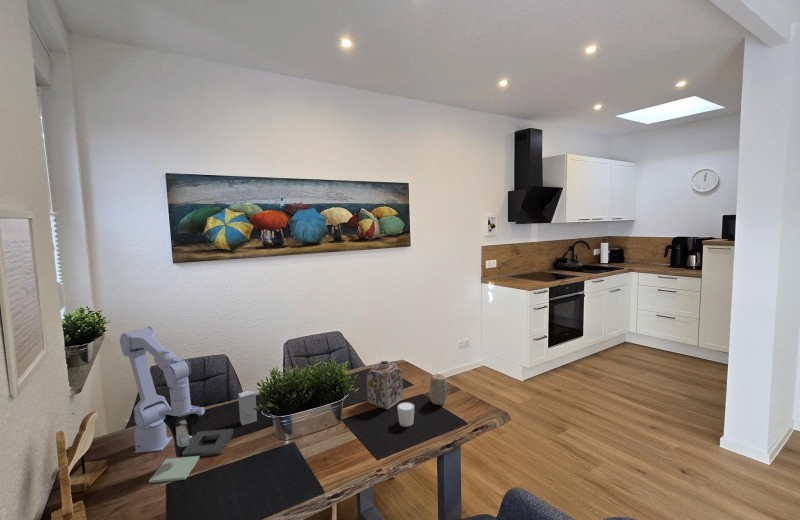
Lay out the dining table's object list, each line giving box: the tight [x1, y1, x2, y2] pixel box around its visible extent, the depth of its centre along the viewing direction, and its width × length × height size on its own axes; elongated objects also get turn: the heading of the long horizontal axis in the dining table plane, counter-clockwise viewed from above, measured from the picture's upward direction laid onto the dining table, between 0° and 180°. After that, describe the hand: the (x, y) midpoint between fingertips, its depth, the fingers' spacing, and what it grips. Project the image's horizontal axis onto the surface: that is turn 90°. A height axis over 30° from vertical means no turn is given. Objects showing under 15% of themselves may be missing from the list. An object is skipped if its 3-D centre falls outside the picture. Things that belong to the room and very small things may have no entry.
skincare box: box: [237, 389, 258, 426], centre depth 155 cm, size 6×4×12 cm
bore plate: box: [181, 428, 234, 457], centre depth 140 cm, size 13×13×2 cm
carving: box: [429, 373, 447, 406], centre depth 165 cm, size 6×8×12 cm
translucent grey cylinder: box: [175, 419, 195, 448], centre depth 130 cm, size 5×5×7 cm
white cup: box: [396, 401, 415, 427], centre depth 150 cm, size 7×7×7 cm
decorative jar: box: [366, 360, 404, 410], centre depth 168 cm, size 12×12×18 cm
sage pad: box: [148, 456, 201, 484], centre depth 126 cm, size 11×11×1 cm
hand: (184, 434), depth 129 cm, fingers closed on translucent grey cylinder, 5 cm apart
